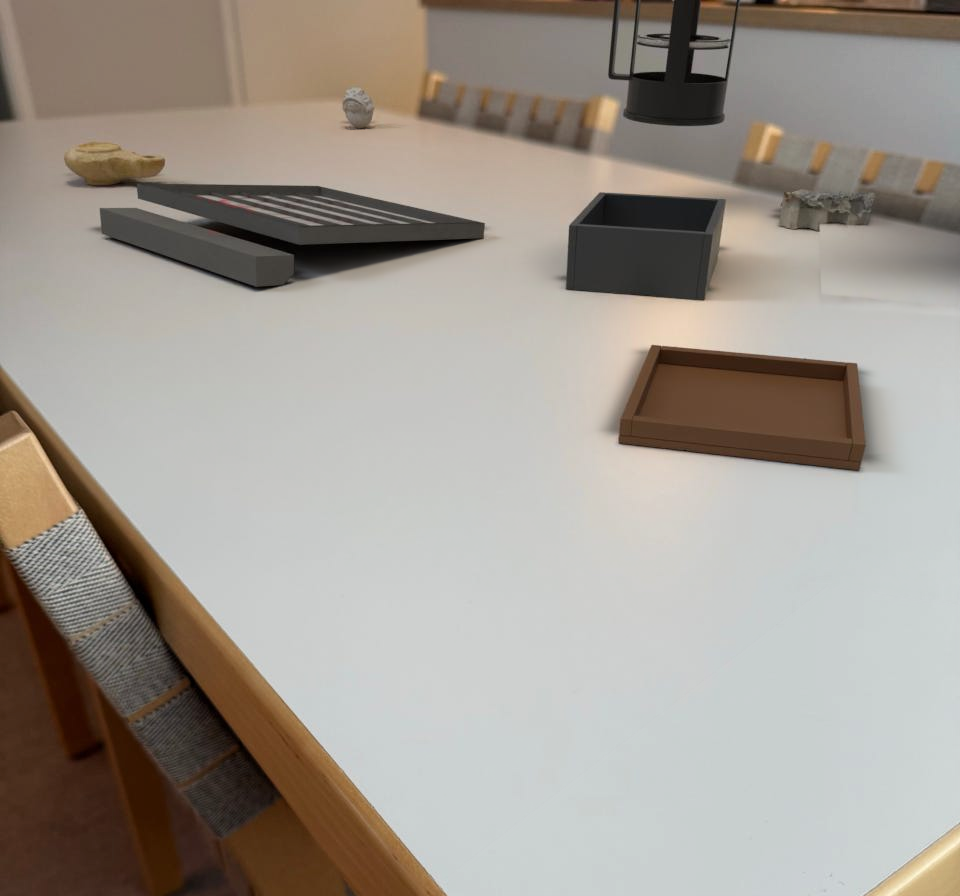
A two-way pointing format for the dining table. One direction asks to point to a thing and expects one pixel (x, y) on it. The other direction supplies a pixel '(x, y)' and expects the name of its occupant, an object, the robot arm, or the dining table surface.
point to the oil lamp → (110, 163)
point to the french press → (674, 72)
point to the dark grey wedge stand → (270, 225)
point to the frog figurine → (358, 107)
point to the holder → (645, 245)
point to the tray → (747, 407)
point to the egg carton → (824, 209)
